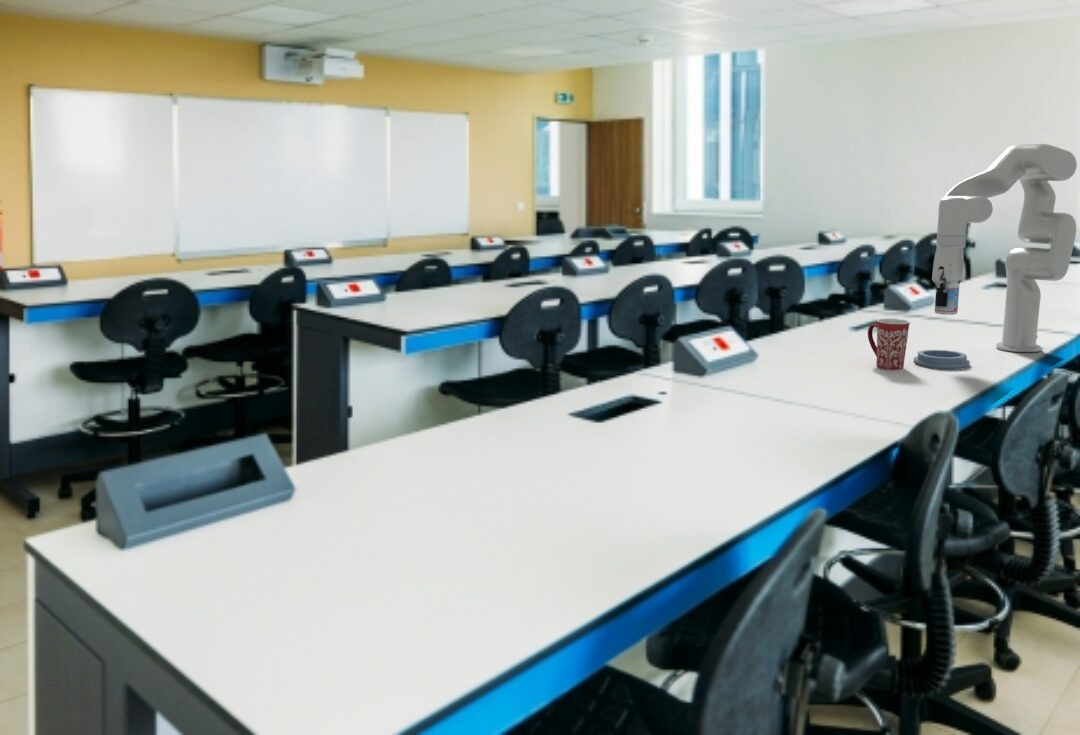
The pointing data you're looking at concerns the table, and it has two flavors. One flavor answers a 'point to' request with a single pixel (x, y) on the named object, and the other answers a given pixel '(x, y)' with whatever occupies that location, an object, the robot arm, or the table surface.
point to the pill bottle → (950, 299)
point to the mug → (890, 342)
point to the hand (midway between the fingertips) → (946, 304)
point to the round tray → (942, 359)
